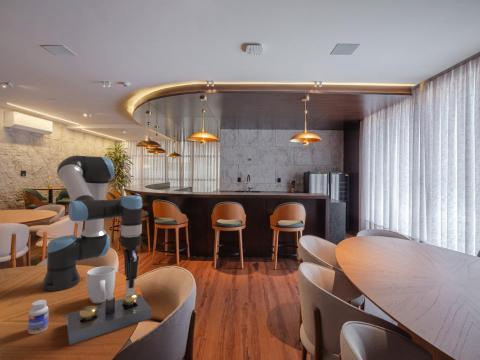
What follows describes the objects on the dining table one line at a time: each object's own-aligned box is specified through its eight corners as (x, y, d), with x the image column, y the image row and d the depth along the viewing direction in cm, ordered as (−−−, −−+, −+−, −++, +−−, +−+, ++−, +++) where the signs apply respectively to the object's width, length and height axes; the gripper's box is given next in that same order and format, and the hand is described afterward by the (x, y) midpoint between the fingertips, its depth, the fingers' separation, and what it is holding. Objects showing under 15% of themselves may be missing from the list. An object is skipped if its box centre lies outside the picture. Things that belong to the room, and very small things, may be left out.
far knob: (121, 309, 97) (121, 294, 97) (134, 306, 100) (135, 291, 100) (124, 316, 93) (124, 299, 93) (138, 311, 96) (138, 296, 96)
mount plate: (66, 324, 90) (66, 313, 90) (140, 303, 106) (140, 294, 106) (69, 345, 79) (69, 333, 79) (150, 318, 95) (151, 308, 95)
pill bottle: (24, 335, 83) (25, 307, 83) (33, 326, 88) (33, 299, 88) (43, 333, 85) (44, 305, 85) (51, 324, 90) (51, 297, 90)
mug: (117, 306, 103) (118, 275, 103) (86, 313, 97) (87, 280, 97) (113, 291, 116) (113, 264, 116) (85, 297, 110) (86, 268, 110)
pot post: (104, 310, 93) (104, 294, 93) (113, 307, 95) (114, 292, 94) (106, 314, 90) (106, 297, 90) (115, 311, 92) (115, 295, 92)
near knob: (78, 325, 88) (79, 308, 88) (95, 320, 92) (95, 304, 92) (80, 332, 84) (80, 315, 84) (97, 327, 88) (97, 310, 88)
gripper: (117, 233, 99) (116, 291, 99) (125, 239, 89) (123, 304, 89) (136, 231, 104) (135, 286, 104) (146, 237, 94) (145, 298, 94)
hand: (130, 294), depth 96 cm, fingers closed
